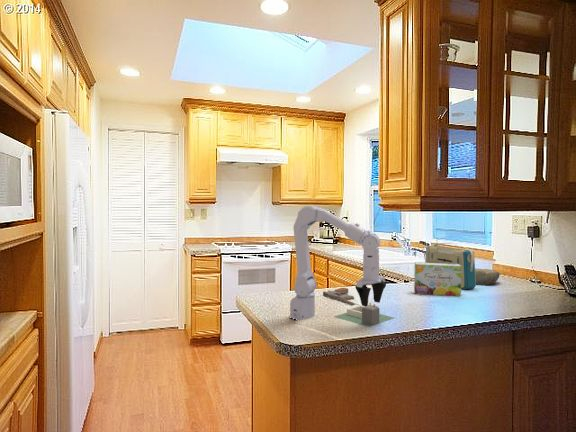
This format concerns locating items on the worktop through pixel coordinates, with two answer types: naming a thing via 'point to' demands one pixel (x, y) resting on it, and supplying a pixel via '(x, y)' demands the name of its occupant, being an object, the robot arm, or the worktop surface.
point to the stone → (486, 276)
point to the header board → (359, 321)
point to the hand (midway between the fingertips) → (370, 303)
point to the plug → (370, 315)
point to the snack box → (437, 279)
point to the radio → (454, 261)
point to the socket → (355, 311)
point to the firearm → (340, 295)
